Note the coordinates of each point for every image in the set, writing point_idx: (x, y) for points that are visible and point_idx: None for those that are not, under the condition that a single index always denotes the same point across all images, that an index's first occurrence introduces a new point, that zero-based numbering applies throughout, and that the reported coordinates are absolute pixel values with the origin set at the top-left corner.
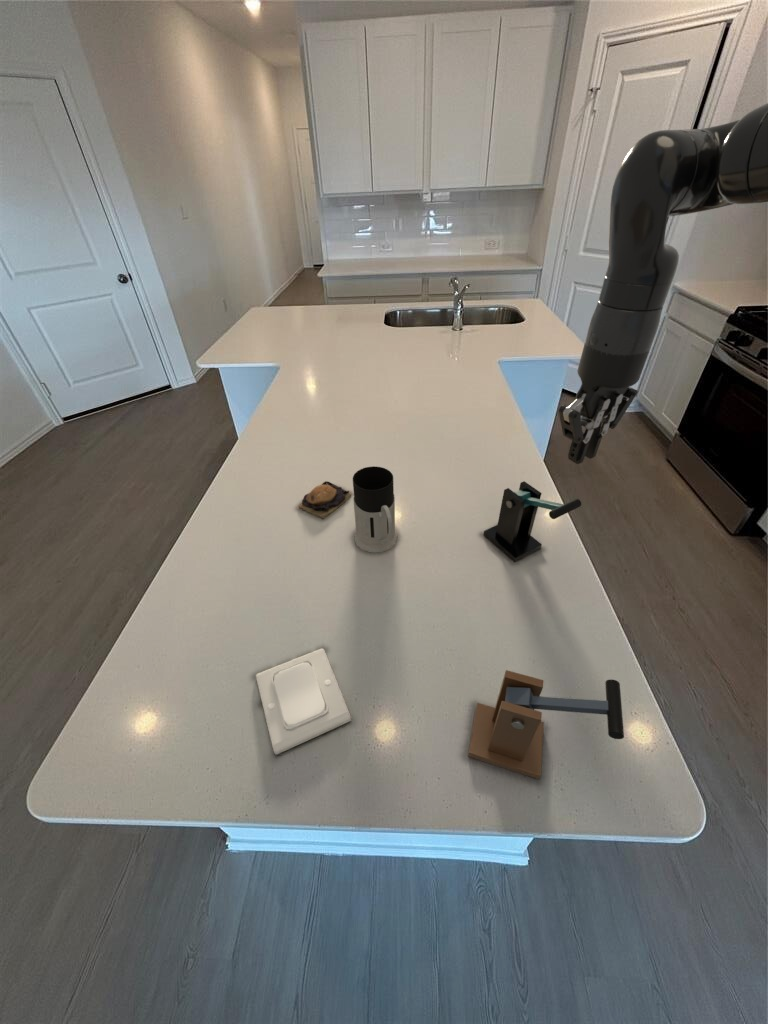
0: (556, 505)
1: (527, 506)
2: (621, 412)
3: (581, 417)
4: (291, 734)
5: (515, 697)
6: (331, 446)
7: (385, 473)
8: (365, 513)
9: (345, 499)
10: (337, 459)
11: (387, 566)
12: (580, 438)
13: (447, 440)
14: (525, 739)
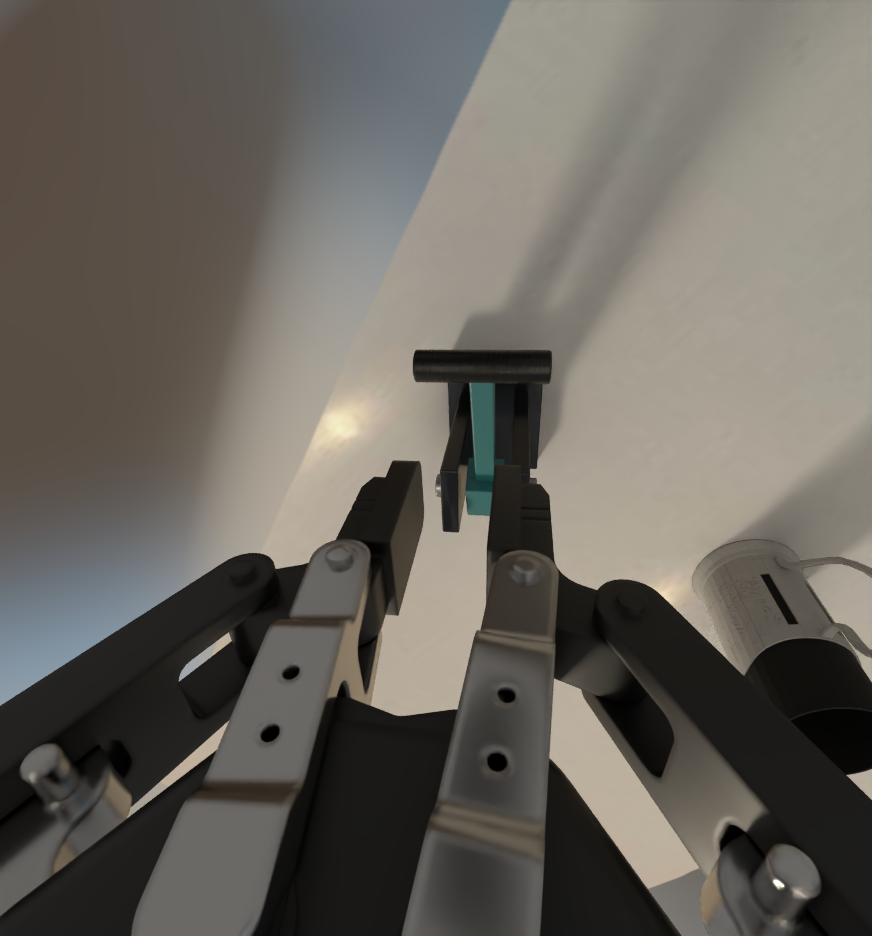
0: (490, 396)
1: (464, 461)
2: (153, 648)
3: (798, 865)
4: None
5: None
6: (604, 786)
7: None
8: (855, 653)
9: None
10: (623, 759)
11: (802, 503)
12: (642, 610)
13: (383, 694)
14: None
